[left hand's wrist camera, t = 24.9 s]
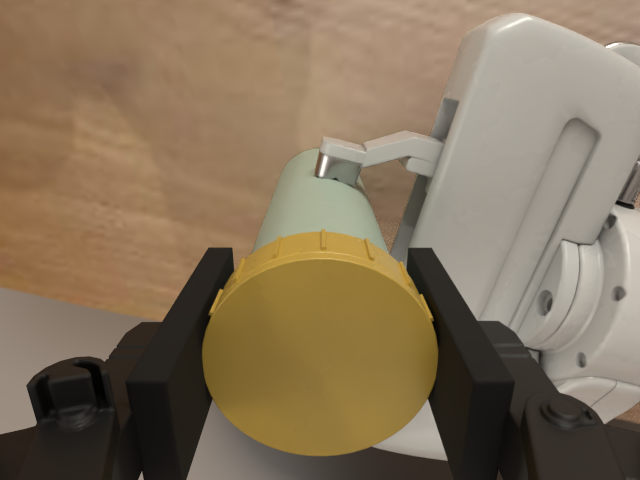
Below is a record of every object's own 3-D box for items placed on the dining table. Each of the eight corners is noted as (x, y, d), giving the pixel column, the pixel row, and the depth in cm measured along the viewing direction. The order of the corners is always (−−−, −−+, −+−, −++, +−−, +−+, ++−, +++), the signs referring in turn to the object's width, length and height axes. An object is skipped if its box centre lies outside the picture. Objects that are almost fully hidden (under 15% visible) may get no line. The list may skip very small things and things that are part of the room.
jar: (372, 159, 25) (440, 278, 11) (350, 238, 27) (384, 430, 13) (287, 139, 25) (242, 234, 11) (270, 219, 27) (212, 397, 12)
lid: (292, 185, 11) (287, 206, 9) (467, 305, 12) (491, 342, 10) (178, 347, 13) (156, 390, 11) (342, 438, 14) (345, 489, 12)
